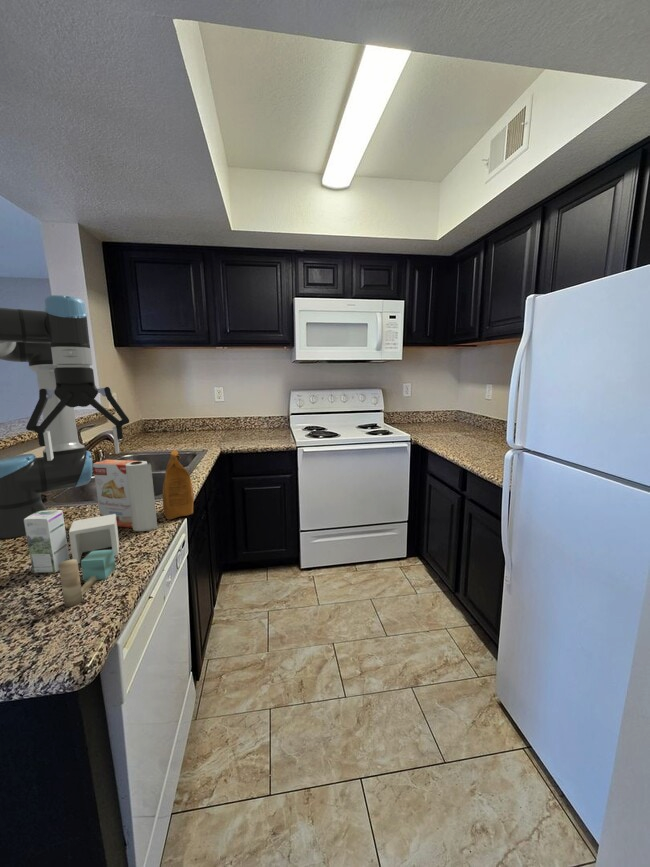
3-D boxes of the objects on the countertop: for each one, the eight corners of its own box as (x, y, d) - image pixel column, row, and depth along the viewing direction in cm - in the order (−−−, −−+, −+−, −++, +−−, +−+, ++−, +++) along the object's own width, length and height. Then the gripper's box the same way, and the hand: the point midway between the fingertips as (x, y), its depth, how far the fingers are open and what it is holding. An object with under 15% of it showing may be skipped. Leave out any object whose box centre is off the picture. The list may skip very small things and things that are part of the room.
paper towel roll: (130, 527, 114) (123, 462, 111) (150, 522, 118) (144, 459, 115) (136, 535, 109) (128, 466, 105) (157, 529, 113) (150, 463, 109)
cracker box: (100, 525, 116) (91, 463, 113) (115, 518, 122) (107, 458, 119) (135, 529, 112) (127, 464, 109) (149, 521, 118) (142, 460, 115)
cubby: (77, 551, 99) (73, 520, 98) (119, 543, 104) (115, 513, 102) (73, 564, 92) (68, 531, 91) (118, 555, 97) (114, 523, 95)
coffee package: (193, 505, 134) (188, 447, 130) (195, 516, 122) (190, 453, 119) (164, 509, 130) (158, 450, 126) (164, 522, 118) (157, 457, 115)
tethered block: (94, 569, 90) (90, 535, 88) (115, 568, 90) (111, 534, 89) (56, 607, 75) (50, 568, 73) (81, 605, 75) (76, 566, 74)
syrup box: (71, 561, 94) (63, 508, 92) (55, 573, 88) (46, 517, 86) (49, 562, 94) (40, 509, 91) (31, 574, 88) (22, 518, 86)
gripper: (-2, 366, 74) (14, 466, 78) (134, 366, 86) (143, 452, 89) (9, 367, 81) (24, 459, 84) (134, 366, 92) (142, 447, 96)
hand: (85, 456), depth 87 cm, fingers open, 13 cm apart
